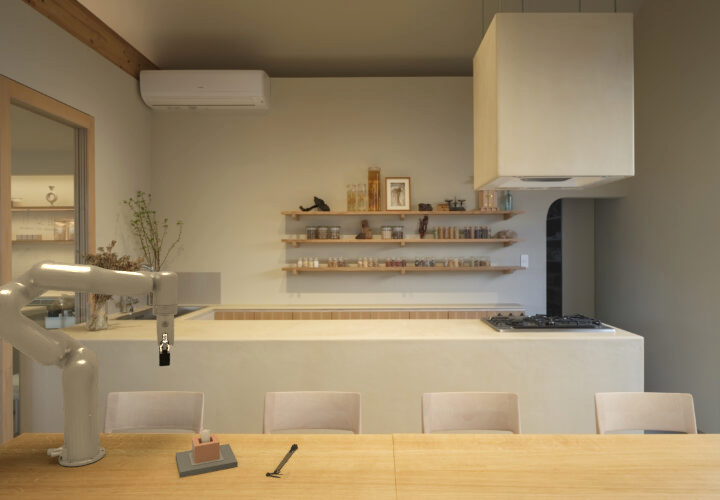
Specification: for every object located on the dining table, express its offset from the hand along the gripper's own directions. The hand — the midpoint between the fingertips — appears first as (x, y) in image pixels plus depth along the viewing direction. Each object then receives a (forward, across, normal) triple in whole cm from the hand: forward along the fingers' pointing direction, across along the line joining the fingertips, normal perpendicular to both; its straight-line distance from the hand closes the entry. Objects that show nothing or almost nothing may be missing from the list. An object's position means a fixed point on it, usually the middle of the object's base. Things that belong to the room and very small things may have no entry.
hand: (164, 362), depth 166 cm
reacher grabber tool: (+27, -28, -35) cm, 52 cm away
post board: (+26, -19, -12) cm, 35 cm away
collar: (+25, -19, -12) cm, 33 cm away
